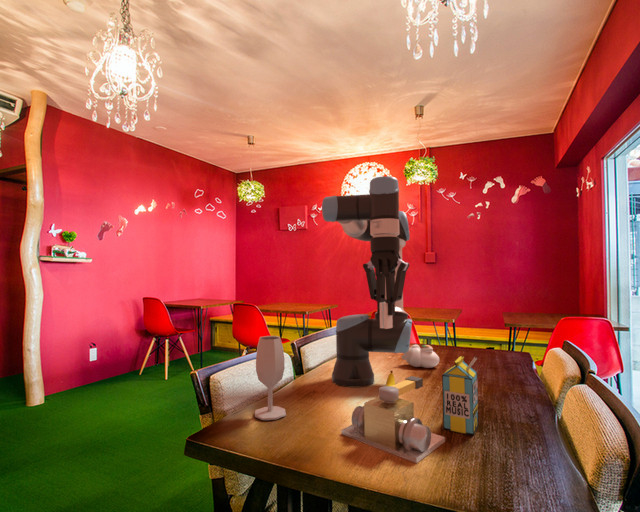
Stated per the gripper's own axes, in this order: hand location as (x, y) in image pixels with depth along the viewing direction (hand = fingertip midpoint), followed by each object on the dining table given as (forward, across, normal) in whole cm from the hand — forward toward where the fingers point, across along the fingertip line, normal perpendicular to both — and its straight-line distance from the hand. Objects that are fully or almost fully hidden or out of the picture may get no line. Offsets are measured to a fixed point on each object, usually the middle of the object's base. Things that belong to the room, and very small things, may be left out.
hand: (386, 327), depth 95 cm
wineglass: (+25, -27, -16) cm, 40 cm away
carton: (+25, +15, +10) cm, 31 cm away
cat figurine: (+25, -22, +58) cm, 66 cm away
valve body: (+24, +5, -6) cm, 26 cm away
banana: (+25, -10, +16) cm, 31 cm away
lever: (+14, +6, -3) cm, 16 cm away
